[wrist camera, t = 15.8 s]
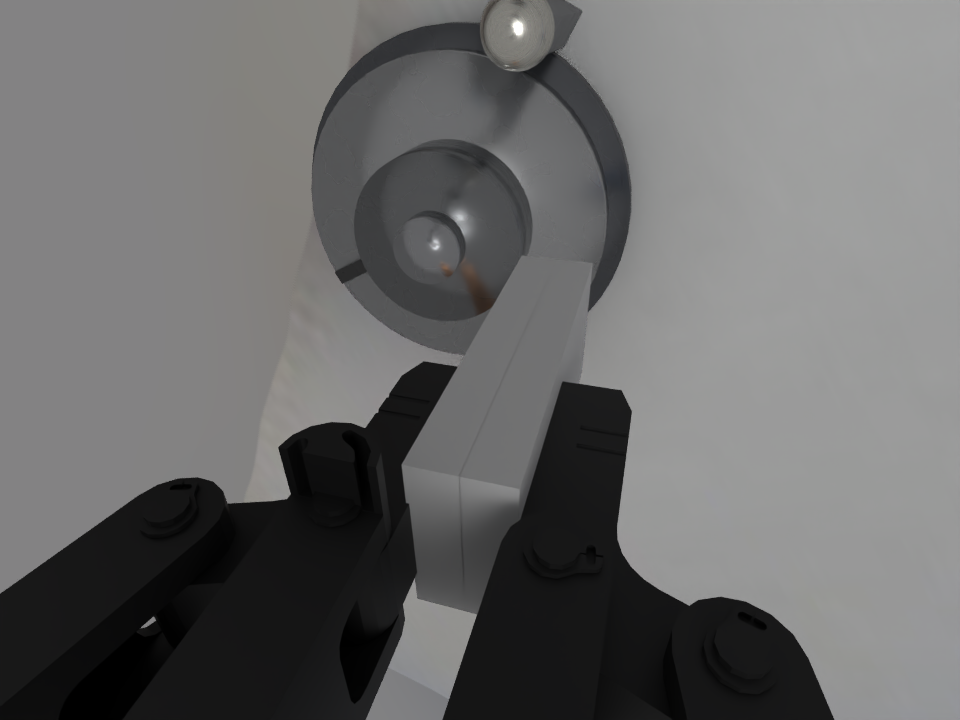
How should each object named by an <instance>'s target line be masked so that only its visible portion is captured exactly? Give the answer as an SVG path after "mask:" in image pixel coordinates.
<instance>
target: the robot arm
mask: <svg viewBox="0 0 960 720" xmlns="http://www.w3.org/2000/svg"><path fill="white" fill-rule="evenodd" d="M592 265H593V263H588V262H579V261H569V260H560V259H550V258H541V257H531V256H521V258H520V260H519V261H518V263H517V265H516V267H515V268H514V270H513V272H512V274H511V275H510V277H509V279H508V281H507V282H506V284H505V286H504V287H503V289H502V291H501V293H500V294H499V296H498V298H497V300H496V301H495V303H494V305H493V307H492V308H491V310H490V312H489V314H488V315H487V317H486V319H485V321H484V322H483V324H482V326H481V327H480V329H479V331H478V333H477V334H476V336H475V338H474V340H473V341H472V343H471V345H470V347H469V348H468V350H467V352H466V354H465V355H464V357H463V359H462V361H461V362H460V364H459V366H458V367H456V366H450V365H443V364H437V363H430V362H422V363H421V364H419V365H418V366H416V367H415V368H413V369H411V370H410V371H408V372H407V373H405V374H404V375H402V376H401V378H400V379H399V381H398V382H397V384H396V385H395V387H394V388H393V389H392V391H391V392H390V394H389V398H386V399H385V401H384V402H383V404H382V405H381V407H380V408H379V412H378V413H376V414H375V415H374V417H373V418H372V419H371V421H370V422H369V424H368V425H367V427H366V428H363V427H360V426H357V425H355V424H352V423H337V422H330V423H325V424H320V425H315V426H311V427H309V428H307V429H304V430H302V431H300V432H298V433H296V434H294V435H292V436H291V437H290V438H288V439H287V440H286V441H285V442H284V443H283V444H281V445H280V446H279V447H278V448H279V452H280V456H281V459H282V463H283V467H284V470H285V474H286V478H287V481H288V485H289V489H290V492H291V495H290V496H289V498H288V499H285V500H278V501H268V502H250V503H232V504H227V501H226V498H225V496H224V493H223V491H222V490H221V489H220V488H219V487H218V486H217V485H216V484H215V483H214V482H212V481H209V480H205V479H201V478H180V479H175V480H172V481H169V482H166V483H162V484H159V485H157V486H155V487H153V488H151V489H149V490H148V491H146V492H144V493H143V494H141V495H139V496H137V497H136V498H134V499H133V500H132V501H130V502H129V503H127V504H126V505H125V506H123V507H122V508H120V509H119V510H117V511H116V512H115V513H114V514H112V515H110V516H109V517H108V518H106V519H105V520H104V521H102V522H101V523H99V524H98V525H97V526H95V527H94V528H92V529H91V530H89V531H88V532H86V533H85V534H84V535H82V536H81V537H79V538H78V539H77V540H75V541H74V542H73V543H71V544H70V545H68V546H67V547H65V548H64V549H63V550H61V551H60V552H58V553H57V554H56V555H54V556H53V557H51V558H50V559H48V560H47V561H46V562H44V563H43V564H41V565H40V566H39V567H37V568H36V569H34V570H33V571H32V572H30V573H29V574H27V575H26V576H25V577H23V578H22V579H21V580H19V581H18V582H16V583H15V584H13V585H12V586H11V587H9V588H8V589H6V590H5V591H4V592H2V593H1V594H0V720H366V717H367V715H368V713H369V711H370V708H371V706H372V703H373V701H374V699H375V696H376V694H377V692H378V689H379V687H380V685H381V682H382V680H383V678H384V675H385V673H386V671H387V668H388V666H389V664H390V661H391V659H392V656H393V654H394V652H395V649H396V647H397V645H398V642H399V640H400V638H401V635H402V631H403V626H404V622H405V616H404V609H403V603H404V601H405V598H406V596H407V594H408V592H409V589H410V587H411V585H412V583H413V580H414V578H415V582H416V590H417V598H418V599H421V600H425V601H429V602H433V603H436V604H440V605H444V606H448V607H452V608H455V609H459V610H463V611H467V612H471V613H475V614H477V617H476V620H475V623H474V626H473V629H472V632H471V635H470V638H469V641H468V644H467V647H466V650H465V653H464V656H463V659H462V662H461V665H460V668H459V671H458V674H457V677H456V680H455V683H454V686H453V689H452V693H451V696H450V699H449V702H448V705H447V708H446V711H445V714H444V717H443V720H834V718H833V716H832V713H831V711H830V708H829V706H828V704H827V701H826V699H825V697H824V694H823V692H822V690H821V687H820V685H819V682H818V680H817V678H816V675H815V673H814V671H813V668H812V666H811V664H810V661H809V659H808V657H807V656H806V654H805V653H804V651H803V649H802V648H801V646H800V645H799V643H798V641H797V640H796V638H795V637H794V635H793V634H792V633H791V632H790V631H789V630H788V629H787V628H785V627H784V626H783V625H782V624H781V623H780V622H779V621H778V620H777V619H775V618H774V617H773V616H772V615H771V614H769V613H767V612H765V611H763V610H761V609H759V608H757V607H755V606H753V605H751V604H749V603H747V602H744V601H739V600H734V599H729V598H724V597H716V598H709V599H702V600H698V601H696V602H695V603H693V604H692V605H690V606H688V605H687V604H685V603H683V602H681V601H679V600H677V599H675V598H674V597H672V596H670V595H668V594H666V593H664V592H663V591H661V590H659V589H657V588H656V587H654V586H653V585H651V584H650V583H648V582H647V581H645V580H644V579H643V578H642V577H641V576H640V575H639V574H638V573H637V572H636V571H635V570H634V569H633V568H632V567H631V566H630V565H629V563H628V562H627V560H626V559H625V557H624V556H623V554H622V552H621V549H620V546H619V543H618V540H617V523H618V515H619V507H620V499H621V492H622V484H623V476H624V468H625V461H626V453H627V445H628V437H629V430H630V422H631V414H632V411H631V409H630V407H629V405H628V403H627V401H626V399H625V397H624V395H623V392H622V391H621V390H615V389H609V388H602V387H596V386H589V385H583V384H579V380H580V377H581V373H582V365H583V355H584V345H585V335H586V325H587V315H588V305H589V295H590V285H591V275H592ZM153 616H154V617H155V619H156V621H155V622H154V623H152V624H151V625H149V626H148V627H146V628H141V627H142V626H143V625H144V624H145V623H146V622H148V621H149V620H150V619H151V618H152V617H153ZM140 628H141V629H140Z"/></svg>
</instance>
